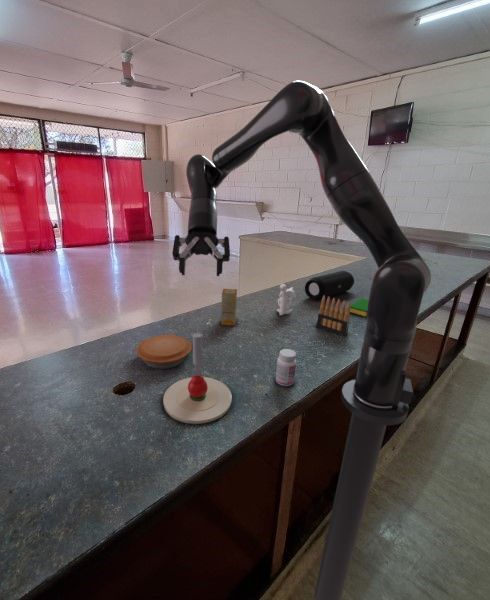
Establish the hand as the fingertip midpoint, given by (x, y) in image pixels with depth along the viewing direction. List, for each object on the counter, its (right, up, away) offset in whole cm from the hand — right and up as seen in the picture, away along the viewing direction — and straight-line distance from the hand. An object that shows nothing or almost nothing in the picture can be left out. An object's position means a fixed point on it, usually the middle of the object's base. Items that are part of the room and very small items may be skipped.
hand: (200, 274), depth 77 cm
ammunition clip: (+44, -17, +34) cm, 58 cm away
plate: (0, -30, -3) cm, 30 cm away
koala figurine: (+29, -11, +48) cm, 57 cm away
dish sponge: (+63, -10, +53) cm, 83 cm away
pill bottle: (+22, -28, +5) cm, 35 cm away
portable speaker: (+54, -4, +69) cm, 87 cm away
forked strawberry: (0, -29, -3) cm, 29 cm away
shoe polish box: (+7, -15, +38) cm, 41 cm away
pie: (-11, -23, +14) cm, 29 cm away
